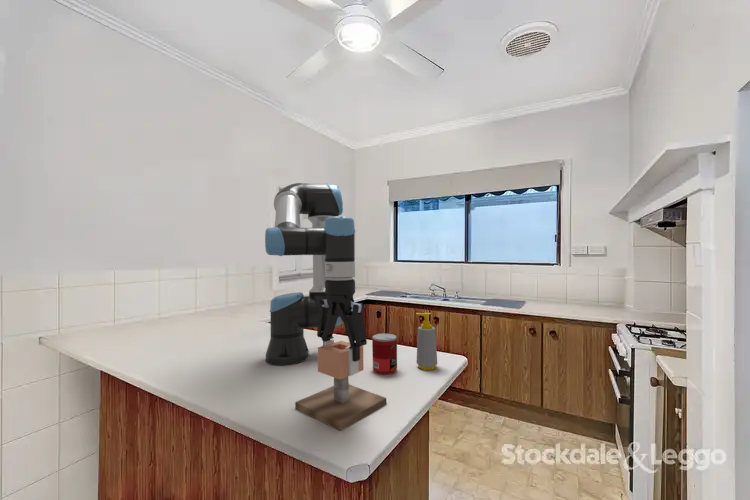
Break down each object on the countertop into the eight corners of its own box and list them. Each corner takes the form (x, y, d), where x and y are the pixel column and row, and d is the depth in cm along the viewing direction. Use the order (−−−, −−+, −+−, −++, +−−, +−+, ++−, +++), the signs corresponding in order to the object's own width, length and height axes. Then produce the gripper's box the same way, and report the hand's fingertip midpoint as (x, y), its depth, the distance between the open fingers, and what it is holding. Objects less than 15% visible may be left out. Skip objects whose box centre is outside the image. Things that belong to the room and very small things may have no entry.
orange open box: (317, 371, 81) (317, 345, 81) (341, 363, 87) (341, 339, 87) (340, 379, 76) (339, 351, 76) (363, 370, 82) (363, 344, 82)
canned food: (395, 375, 101) (395, 340, 101) (370, 373, 103) (369, 338, 103) (398, 366, 109) (398, 333, 109) (375, 365, 110) (374, 332, 110)
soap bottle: (415, 363, 112) (414, 311, 112) (435, 363, 112) (435, 311, 112) (417, 370, 105) (416, 315, 105) (439, 370, 105) (438, 314, 105)
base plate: (295, 408, 81) (295, 377, 81) (342, 387, 93) (342, 360, 93) (340, 430, 70) (339, 395, 70) (386, 403, 82) (386, 374, 82)
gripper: (302, 277, 86) (303, 364, 85) (360, 281, 72) (361, 385, 72) (324, 276, 91) (325, 357, 91) (381, 279, 78) (382, 375, 78)
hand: (341, 369), depth 82 cm, fingers closed on orange open box, 8 cm apart
